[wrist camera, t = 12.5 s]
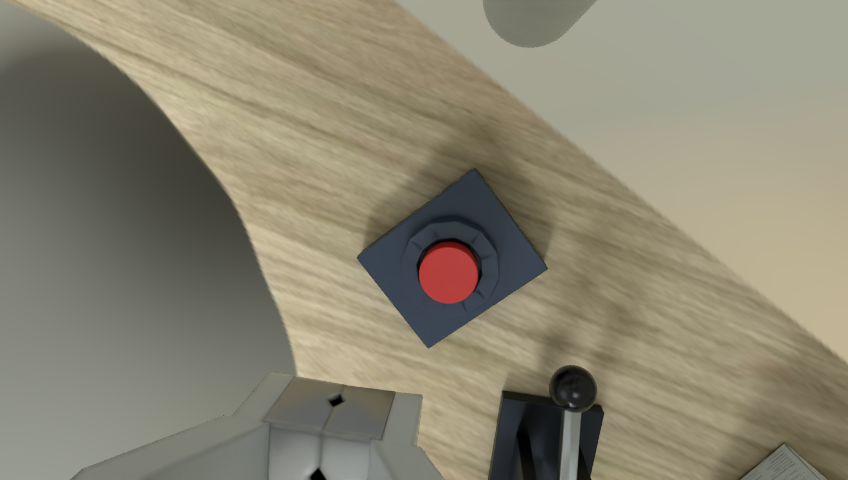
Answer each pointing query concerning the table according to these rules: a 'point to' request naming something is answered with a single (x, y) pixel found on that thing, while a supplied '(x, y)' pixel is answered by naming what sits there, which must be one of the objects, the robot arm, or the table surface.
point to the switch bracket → (538, 439)
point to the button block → (463, 223)
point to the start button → (448, 272)
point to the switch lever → (571, 413)
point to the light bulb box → (784, 467)
